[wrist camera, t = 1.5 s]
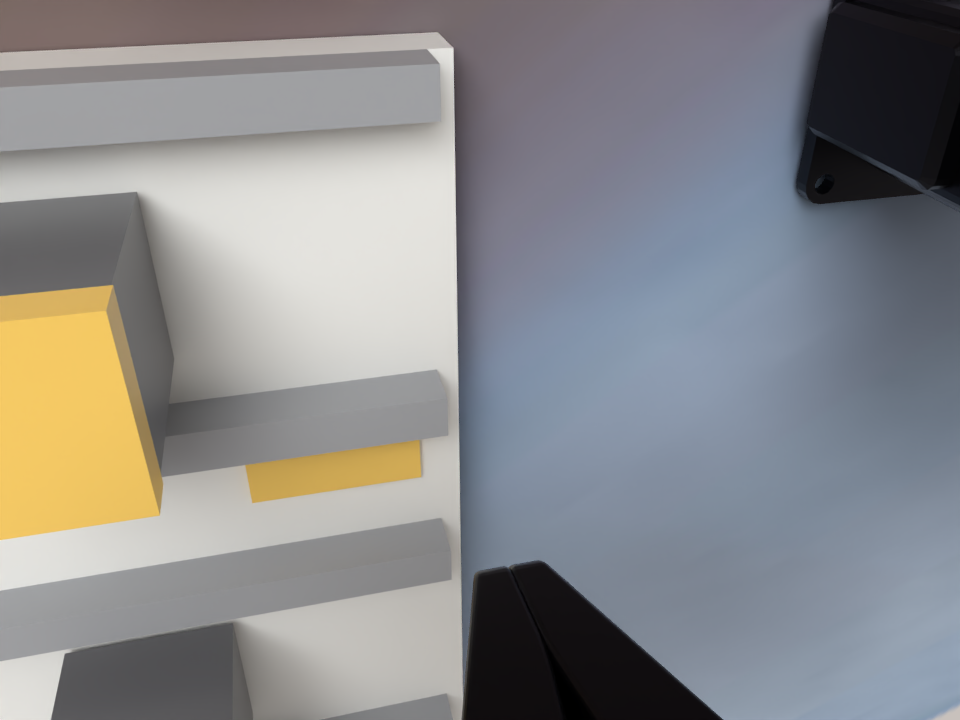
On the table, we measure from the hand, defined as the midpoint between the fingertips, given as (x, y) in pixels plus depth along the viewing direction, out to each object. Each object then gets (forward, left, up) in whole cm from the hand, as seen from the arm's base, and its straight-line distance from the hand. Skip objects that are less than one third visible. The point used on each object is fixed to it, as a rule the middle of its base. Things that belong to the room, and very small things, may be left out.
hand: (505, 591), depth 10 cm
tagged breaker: (+6, 0, -9) cm, 11 cm away
